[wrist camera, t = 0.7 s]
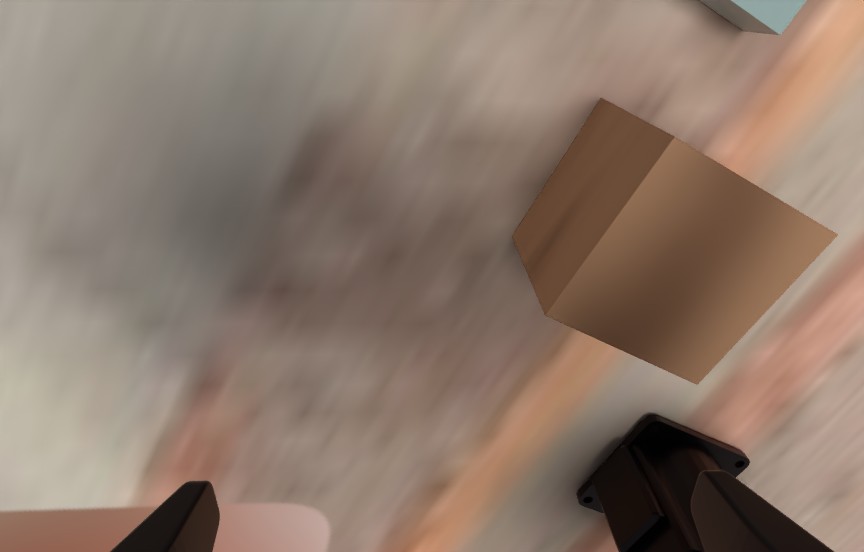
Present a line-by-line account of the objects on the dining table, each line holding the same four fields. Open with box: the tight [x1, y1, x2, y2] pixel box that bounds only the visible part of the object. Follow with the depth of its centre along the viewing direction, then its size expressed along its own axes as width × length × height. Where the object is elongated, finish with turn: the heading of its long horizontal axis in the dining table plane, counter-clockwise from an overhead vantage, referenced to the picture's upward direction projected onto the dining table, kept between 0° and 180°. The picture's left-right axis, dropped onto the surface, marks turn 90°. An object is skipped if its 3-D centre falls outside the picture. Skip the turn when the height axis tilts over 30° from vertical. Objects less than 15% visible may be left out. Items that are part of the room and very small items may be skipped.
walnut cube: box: [512, 98, 838, 385], centre depth 18 cm, size 6×6×6 cm
